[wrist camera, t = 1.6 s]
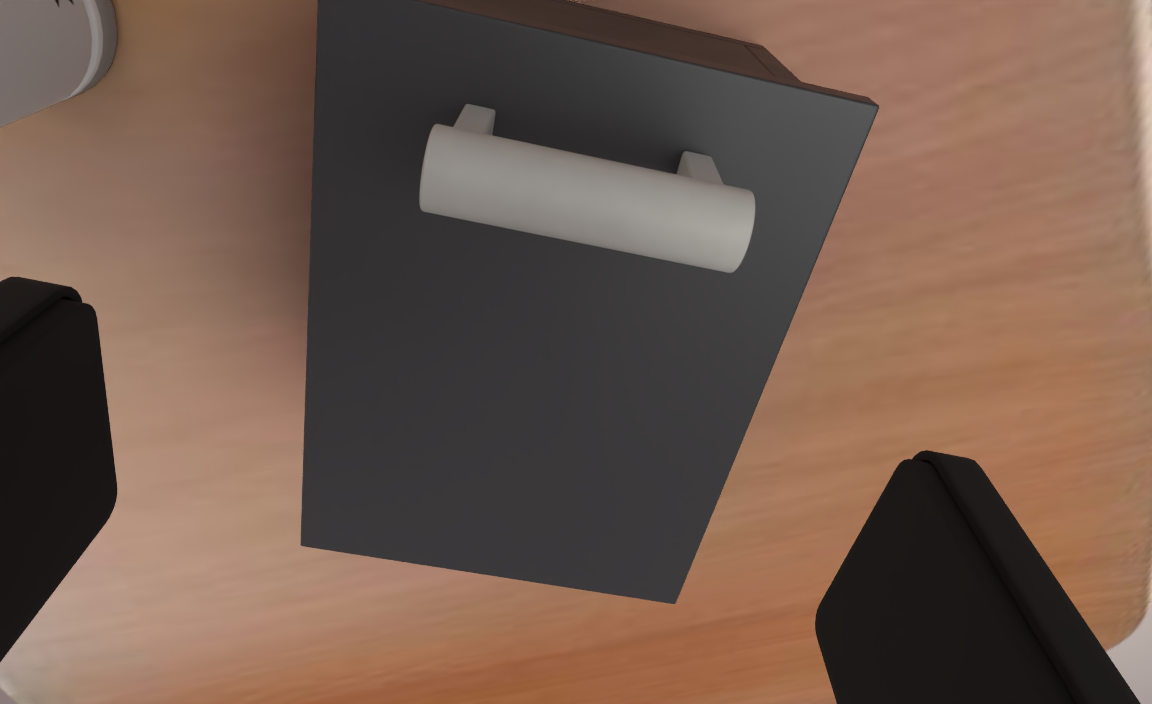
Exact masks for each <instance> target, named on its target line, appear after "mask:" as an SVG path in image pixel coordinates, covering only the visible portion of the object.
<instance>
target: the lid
mask: <svg viewBox="0 0 1152 704" xmlns="http://www.w3.org/2000/svg"><path fill="white" fill-rule="evenodd" d="M878 109H879V105H877V104H876V103H875V102H873V101H872V100H871V99H870V98H868V97H865V96H860V95H856V94H851V93H847V92H843V91H838V90H834V89H830V88H825V87H821V86H816V85H812V84H808V83H803V82H799V81H794V80H790V79H786V78H781V77H777V76H773V75H768V74H764V73H759V72H755V71H751V70H746V69H742V68H737V67H733V66H729V65H724V64H720V63H716V62H711V61H707V60H702V59H698V58H694V57H689V56H685V55H680V54H676V53H672V52H667V51H663V50H659V49H654V48H650V47H645V46H641V45H637V44H632V43H628V42H623V41H619V40H615V39H610V38H606V37H602V36H597V35H593V34H588V33H584V32H580V31H575V30H571V29H566V28H562V27H558V26H553V25H549V24H545V23H540V22H536V21H531V20H527V19H523V18H518V17H514V16H509V15H505V14H501V13H496V12H492V11H488V10H483V9H479V8H474V7H470V6H466V5H461V4H457V3H452V2H448V1H444V0H318V12H317V43H316V75H315V106H314V138H313V169H312V201H311V232H310V264H309V295H308V327H307V358H306V390H305V421H304V453H303V484H302V516H301V546H305V547H312V548H318V549H325V550H331V551H337V552H344V553H350V554H357V555H363V556H369V557H376V558H382V559H389V560H395V561H401V562H408V563H414V564H421V565H427V566H433V567H440V568H446V569H453V570H459V571H466V572H472V573H478V574H485V575H491V576H498V577H504V578H510V579H517V580H523V581H530V582H536V583H542V584H549V585H555V586H562V587H568V588H574V589H581V590H587V591H594V592H600V593H606V594H613V595H619V596H626V597H632V598H639V599H645V600H651V601H658V602H664V603H671V604H675V603H676V601H677V599H678V596H679V594H680V592H681V589H682V587H683V584H684V582H685V579H686V577H687V574H688V572H689V570H690V567H691V565H692V562H693V560H694V557H695V555H696V553H697V550H698V548H699V545H700V543H701V540H702V538H703V535H704V533H705V531H706V528H707V526H708V523H709V521H710V518H711V516H712V514H713V511H714V509H715V506H716V504H717V501H718V499H719V497H720V494H721V492H722V489H723V487H724V484H725V482H726V479H727V477H728V475H729V472H730V470H731V467H732V465H733V462H734V460H735V458H736V455H737V453H738V450H739V448H740V445H741V443H742V440H743V438H744V436H745V433H746V431H747V428H748V426H749V423H750V421H751V419H752V416H753V414H754V411H755V409H756V406H757V404H758V401H759V399H760V397H761V394H762V392H763V389H764V387H765V384H766V382H767V380H768V377H769V375H770V372H771V370H772V367H773V365H774V362H775V360H776V358H777V355H778V353H779V350H780V348H781V345H782V343H783V341H784V338H785V336H786V333H787V331H788V328H789V326H790V324H791V321H792V319H793V316H794V314H795V311H796V309H797V306H798V304H799V302H800V299H801V297H802V294H803V292H804V289H805V287H806V285H807V282H808V280H809V277H810V275H811V272H812V270H813V267H814V265H815V263H816V260H817V258H818V255H819V253H820V250H821V248H822V246H823V243H824V241H825V238H826V236H827V233H828V231H829V228H830V226H831V224H832V221H833V219H834V216H835V214H836V211H837V209H838V207H839V204H840V202H841V199H842V197H843V194H844V192H845V189H846V187H847V185H848V182H849V180H850V177H851V175H852V172H853V170H854V168H855V165H856V163H857V160H858V158H859V155H860V153H861V151H862V148H863V146H864V143H865V141H866V138H867V136H868V133H869V131H870V129H871V126H872V124H873V121H874V119H875V116H876V114H877V112H878Z"/></svg>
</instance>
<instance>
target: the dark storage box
mask: <svg viewBox="0 0 1152 704" xmlns="http://www.w3.org/2000/svg"><path fill="white" fill-rule="evenodd" d="M444 1H448V2H452V3H457V4H461V5H466V6H470V7H474V8H479V9H483V10H488V11H492V12H496V13H501V14H505V15H509V16H514V17H518V18H523V19H527V20H531V21H536V22H540V23H545V24H549V25H553V26H558V27H562V28H566V29H571V30H575V31H580V32H584V33H588V34H593V35H597V36H602V37H606V38H610V39H615V40H619V41H623V42H628V43H632V44H637V45H641V46H645V47H650V48H654V49H659V50H663V51H667V52H672V53H676V54H680V55H685V56H689V57H694V58H698V59H702V60H707V61H711V62H716V63H720V64H724V65H729V66H733V67H737V68H742V69H746V70H751V71H755V72H759V73H764V74H768V75H773V76H777V77H781V78H786V79H790V80H794V81H799V82H801V81H800V80H799V79H798V78H797V77H795V76H794V75H793V74H792V73H791V72H790V71H789V70H788V69H787V68H786V67H785V66H784V65H783V64H782V63H781V62H779V61H778V60H777V59H776V58H775V57H774V56H773V55H772V54H771V53H770V52H769V51H768V50H767V49H766V48H764V47H763V46H761V45H756V44H752V43H748V42H743V41H739V40H735V39H730V38H726V37H722V36H717V35H713V34H709V33H704V32H700V31H696V30H692V29H687V28H683V27H679V26H674V25H670V24H666V23H661V22H657V21H653V20H648V19H644V18H640V17H635V16H631V15H627V14H622V13H618V12H614V11H609V10H605V9H601V8H597V7H592V6H588V5H584V4H579V3H575V2H571V1H566V0H444Z"/></svg>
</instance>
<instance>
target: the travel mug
mask: <svg viewBox="0 0 1152 704" xmlns="http://www.w3.org/2000/svg"><path fill="white" fill-rule="evenodd" d="M116 44H117V25H116V18H115V12H114V9H113V6H112V2H111V0H0V127H3V126H5V125H7V124H10V123H12V122H14V121H17V120H19V119H22V118H24V117H26V116H29V115H31V114H33V113H36V112H38V111H41V110H43V109H45V108H48V107H50V106H52V105H55V104H57V103H58V102H61V101H64V100H67V99H69V98H71V97H74V96H76V95H79V94H81V93H83V92H85V91H86V90H88V89H90V88H92V87H94V86H95V85H96V84H97V83H98V82H99V81H100V80H101V79H102V78H103V77H104V76H105V74H106V73H107V71H108V69H109V67H110V66H111V64H112V61H113V58H114V54H115V51H116Z"/></svg>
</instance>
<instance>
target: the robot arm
mask: <svg viewBox="0 0 1152 704" xmlns="http://www.w3.org/2000/svg"><path fill="white" fill-rule="evenodd" d="M116 498H117V481H116V473H115V464H114V456H113V448H112V439H111V431H110V423H109V414H108V406H107V398H106V389H105V381H104V373H103V364H102V356H101V348H100V339H99V331H98V322H97V316H96V312H95V310H94V309H93V307H92V306H91V305H89V304H86V303H82V299H81V297H80V295H79V293H78V292H77V291H76V290H75V289H73V288H72V287H68V286H63V285H58V284H53V283H47V282H42V281H37V280H32V279H26V278H21V277H9V278H7V279H5V280H3V281H1V282H0V662H1V661H2V659H3V658H4V657H5V655H6V654H7V653H8V651H9V650H10V649H11V647H12V646H13V645H14V643H15V642H16V641H17V639H18V638H19V637H20V635H21V634H22V633H23V631H24V630H25V629H26V628H27V626H28V625H29V624H30V622H31V621H32V620H33V618H34V617H35V616H36V614H37V613H38V612H39V610H40V609H41V608H42V606H43V605H44V604H45V602H46V601H47V600H48V599H49V597H50V596H51V595H52V593H53V592H54V591H55V589H56V588H57V587H58V585H59V584H60V583H61V581H62V580H63V579H64V577H65V576H66V575H67V573H68V572H69V571H70V569H71V568H72V567H73V566H74V564H75V563H76V562H77V560H78V559H79V558H80V556H81V555H82V554H83V552H84V551H85V550H86V548H87V547H88V546H89V544H90V543H91V542H92V540H93V539H94V538H95V537H96V535H97V534H98V533H99V531H100V530H101V529H102V527H103V526H104V525H105V523H106V522H107V520H108V519H109V517H110V515H111V513H112V511H113V509H114V506H115V502H116ZM815 628H816V635H817V639H818V643H819V646H820V649H821V652H822V656H823V659H824V662H825V666H826V669H827V672H828V675H829V679H830V682H831V685H832V689H833V692H834V695H835V698H836V702H837V704H1140V702H1139V701H1138V699H1137V698H1136V696H1135V695H1134V693H1133V692H1132V691H1131V689H1130V687H1129V686H1128V684H1127V683H1126V682H1125V680H1124V678H1123V677H1122V676H1121V674H1120V672H1119V671H1118V670H1117V668H1116V667H1115V665H1114V664H1113V662H1112V661H1111V659H1110V658H1109V656H1108V655H1107V653H1106V652H1105V650H1104V649H1103V647H1102V646H1101V644H1100V643H1099V641H1098V640H1097V638H1096V637H1095V635H1094V634H1093V633H1092V631H1091V630H1090V628H1089V627H1088V625H1087V624H1086V622H1085V621H1084V619H1083V618H1082V616H1081V615H1080V613H1079V612H1078V610H1077V609H1076V607H1075V606H1074V604H1073V603H1072V601H1071V600H1070V598H1069V597H1068V596H1067V594H1066V593H1065V591H1064V590H1063V588H1062V587H1061V585H1060V584H1059V582H1058V581H1057V579H1056V578H1055V576H1054V575H1053V573H1052V572H1051V570H1050V569H1049V567H1048V566H1047V564H1046V563H1045V561H1044V560H1043V559H1042V557H1041V556H1040V554H1039V553H1038V551H1037V550H1036V548H1035V547H1034V545H1033V544H1032V542H1031V541H1030V539H1029V538H1028V536H1027V535H1026V533H1025V532H1024V530H1023V529H1022V527H1021V526H1020V524H1019V523H1018V522H1017V520H1016V519H1015V517H1014V516H1013V514H1012V513H1011V511H1010V510H1009V508H1008V507H1007V505H1006V504H1005V502H1004V501H1003V499H1002V498H1001V496H1000V495H999V493H998V492H997V490H996V489H995V487H994V486H993V485H992V483H991V482H990V480H989V479H988V477H987V476H986V474H985V473H984V471H983V470H982V468H981V467H980V466H979V465H978V464H977V463H976V462H975V461H974V460H972V459H969V458H964V457H959V456H954V455H949V454H943V453H938V452H933V451H928V450H926V451H921V452H919V453H918V454H916V455H915V456H914V457H913V459H912V460H911V459H907V460H904V461H902V462H901V463H900V464H899V465H898V467H897V468H896V470H895V471H894V473H893V475H892V477H891V478H890V480H889V482H888V484H887V486H886V487H885V489H884V491H883V493H882V494H881V496H880V498H879V500H878V502H877V503H876V505H875V507H874V509H873V510H872V512H871V514H870V516H869V518H868V519H867V521H866V523H865V525H864V526H863V528H862V530H861V532H860V533H859V535H858V537H857V539H856V541H855V542H854V544H853V546H852V548H851V549H850V551H849V553H848V555H847V557H846V558H845V560H844V562H843V564H842V565H841V567H840V569H839V571H838V573H837V574H836V576H835V578H834V580H833V581H832V583H831V585H830V587H829V588H828V590H827V592H826V594H825V596H824V597H823V599H822V601H821V603H820V605H819V607H818V609H817V614H816V621H815Z"/></svg>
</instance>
